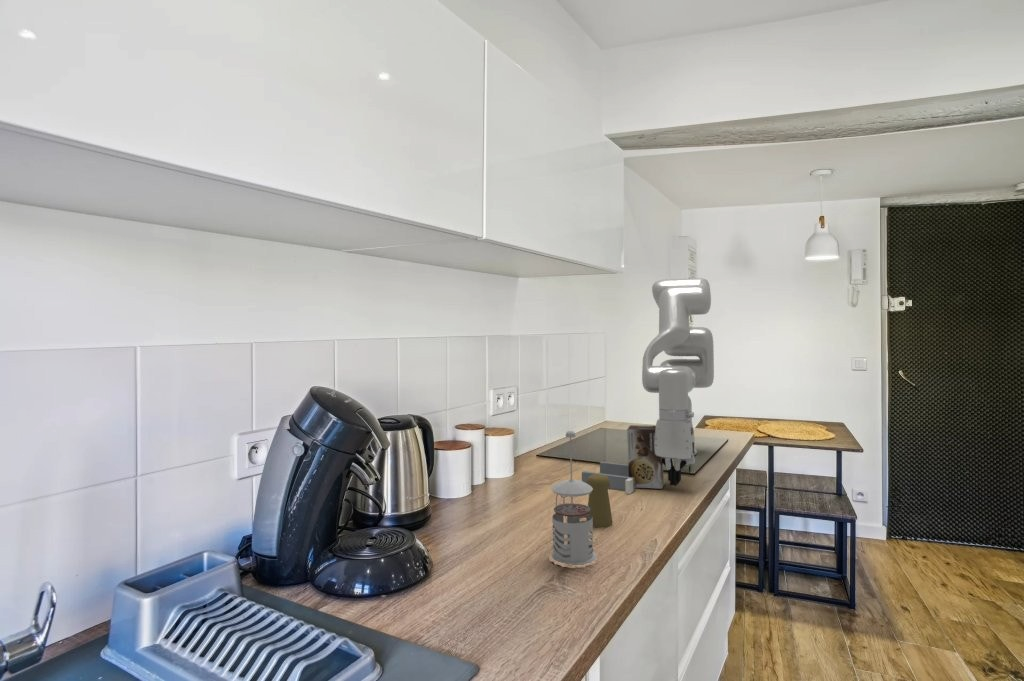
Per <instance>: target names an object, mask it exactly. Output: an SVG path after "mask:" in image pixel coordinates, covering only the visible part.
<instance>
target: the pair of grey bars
mask: <svg viewBox="0 0 1024 681" xmlns="http://www.w3.org/2000/svg"><path fill="white" fill-rule="evenodd" d="M593 474H603V475H606V476H608V477H609V479H610V487H609V489H610V490H611V489H612V490H619V491H625V494H626V495H627V494H628V495H631V494H632V493H633V492H635V491H636V487H635V478H634V477H629V476H628V464H626V463H625V464H624V463H623V464H622V463H615V462H606V461H599V472H595V471H594V472H593V471H585V470H583V471H582V472H581V481H582V482H585V483H587V479H588V477H589V476H590V475H593Z"/></svg>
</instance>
